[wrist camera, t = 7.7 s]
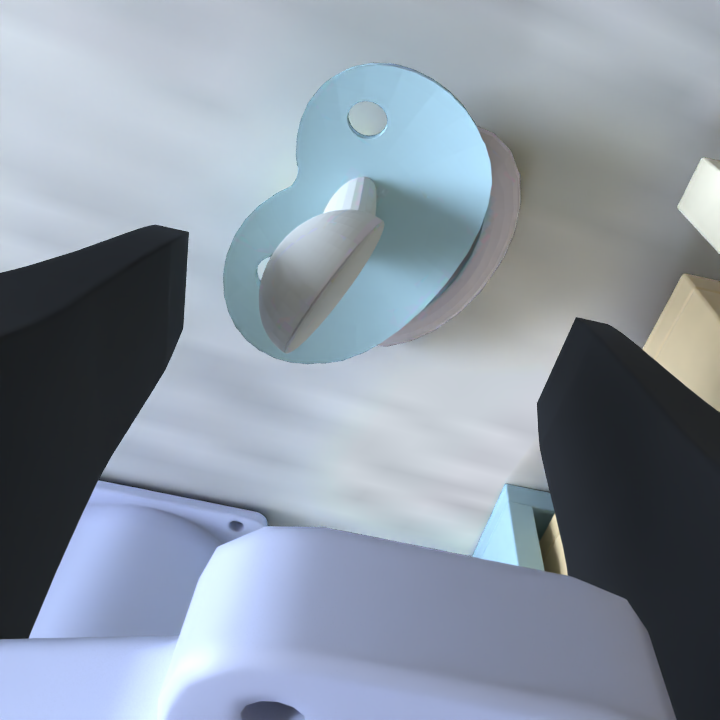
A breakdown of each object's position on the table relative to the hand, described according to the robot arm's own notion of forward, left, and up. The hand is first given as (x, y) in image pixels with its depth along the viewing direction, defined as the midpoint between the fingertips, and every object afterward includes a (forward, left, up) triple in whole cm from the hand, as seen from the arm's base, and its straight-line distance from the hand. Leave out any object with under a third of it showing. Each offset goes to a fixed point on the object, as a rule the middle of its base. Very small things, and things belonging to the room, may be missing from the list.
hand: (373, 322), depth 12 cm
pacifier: (0, 0, -5) cm, 5 cm away
